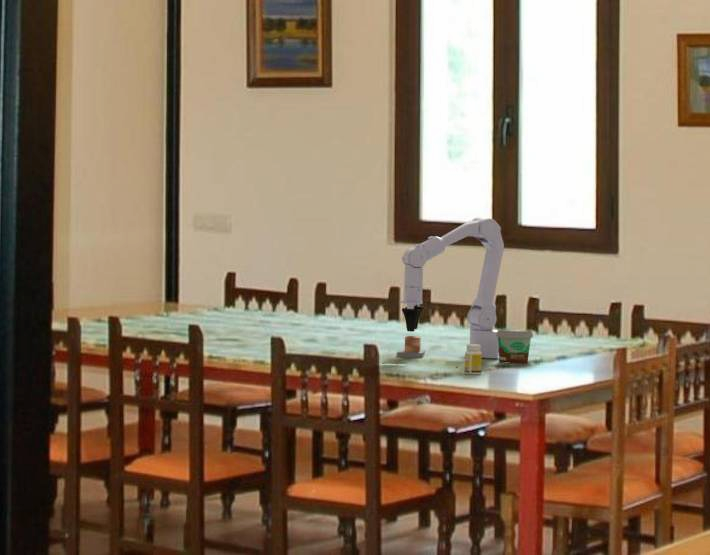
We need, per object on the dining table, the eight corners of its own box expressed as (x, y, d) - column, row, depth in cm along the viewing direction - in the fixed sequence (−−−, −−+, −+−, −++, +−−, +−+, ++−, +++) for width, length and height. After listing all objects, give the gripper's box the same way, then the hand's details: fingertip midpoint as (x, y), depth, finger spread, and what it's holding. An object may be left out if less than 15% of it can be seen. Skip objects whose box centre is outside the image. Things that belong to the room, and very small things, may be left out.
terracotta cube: (420, 350, 436) (420, 336, 435) (419, 352, 431) (419, 337, 431) (406, 350, 436) (406, 335, 436) (404, 351, 432) (404, 337, 431)
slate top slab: (424, 354, 437) (424, 350, 437) (422, 357, 430) (422, 353, 429) (399, 353, 439) (399, 349, 438) (396, 356, 431) (396, 352, 431)
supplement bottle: (483, 373, 402) (484, 344, 402) (477, 375, 398) (478, 346, 397) (467, 372, 404) (468, 343, 404) (462, 373, 400) (463, 344, 400)
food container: (504, 364, 425) (506, 331, 424) (494, 361, 430) (496, 329, 430) (539, 363, 430) (540, 331, 429) (529, 360, 435) (530, 329, 435)
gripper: (403, 284, 440) (402, 327, 441) (397, 287, 426) (396, 331, 427) (425, 285, 439) (424, 328, 440) (420, 288, 425) (419, 332, 426)
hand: (412, 330), depth 433 cm, fingers open, 7 cm apart
